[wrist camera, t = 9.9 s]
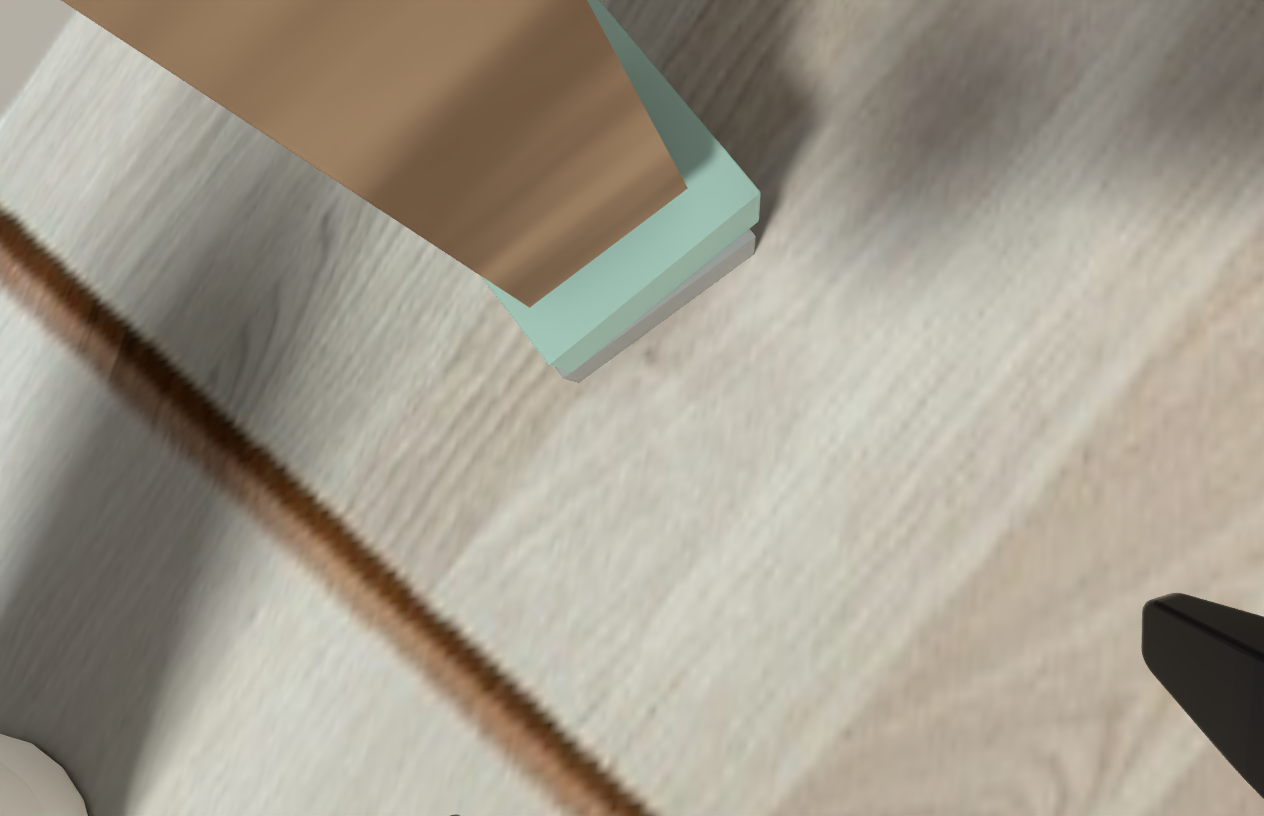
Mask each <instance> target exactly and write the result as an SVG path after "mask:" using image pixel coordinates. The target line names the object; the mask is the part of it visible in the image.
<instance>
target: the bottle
mask: <svg viewBox="0 0 1264 816" xmlns="http://www.w3.org/2000/svg"><path fill="white" fill-rule="evenodd" d="M0 816H88V814H87V811H86V807H85V803H84V800H83V798H82V797H81V795H80V794H79V792H78V790H77V789H76V787H75V786H74V784H73V783H72V781H71V780H70V778H69V777H68V775H67V773H66V772H65V770H64V769H63V768H62V767H61V766H60V765H59V764H57V763H56V762H55V761H53V760H52V759H51V758H50V757H48V756H47V755H46V754H45V753H43V752H42V751H41V750H39V749H38V748H37V747H36V746H34V745H33V744H32V743H29V742H26V741H22V740H19V739H16V738H12V737H9V736H5V735H2V734H0Z"/></svg>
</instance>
